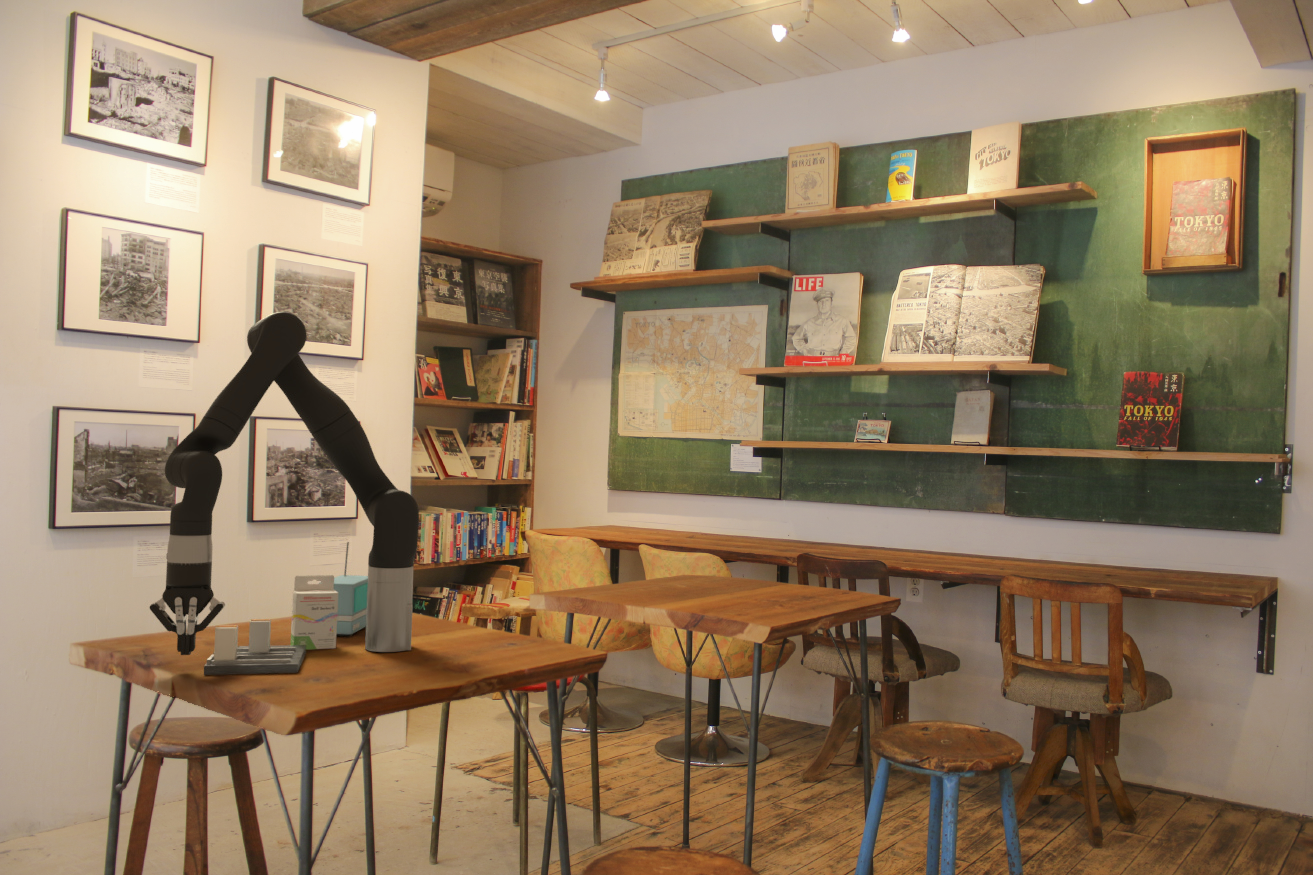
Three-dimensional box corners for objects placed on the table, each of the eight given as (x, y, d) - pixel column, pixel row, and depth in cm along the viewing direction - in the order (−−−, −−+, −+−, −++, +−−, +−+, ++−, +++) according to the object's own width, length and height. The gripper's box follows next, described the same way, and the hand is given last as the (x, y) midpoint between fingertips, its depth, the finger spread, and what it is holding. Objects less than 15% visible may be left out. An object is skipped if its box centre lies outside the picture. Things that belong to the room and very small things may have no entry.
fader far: (269, 650, 196) (271, 618, 196) (268, 653, 193) (269, 620, 193) (250, 650, 195) (251, 618, 195) (248, 653, 192) (249, 620, 192)
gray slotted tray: (306, 652, 204) (306, 640, 204) (297, 672, 185) (298, 659, 185) (220, 654, 199) (221, 642, 200) (203, 674, 181) (204, 661, 181)
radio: (356, 638, 222) (359, 547, 222) (315, 637, 222) (319, 546, 222) (377, 626, 237) (380, 541, 238) (339, 625, 237) (342, 540, 238)
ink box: (293, 650, 205) (296, 578, 206) (289, 646, 210) (292, 575, 210) (337, 648, 209) (339, 577, 210) (332, 644, 214) (335, 574, 214)
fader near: (236, 657, 188) (238, 624, 188) (234, 660, 185) (235, 626, 185) (216, 658, 187) (218, 624, 187) (213, 661, 184) (215, 627, 184)
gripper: (231, 557, 190) (227, 649, 189) (154, 557, 186) (151, 651, 186) (225, 561, 183) (221, 657, 182) (145, 561, 179) (141, 659, 179)
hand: (185, 654), depth 184 cm, fingers closed
